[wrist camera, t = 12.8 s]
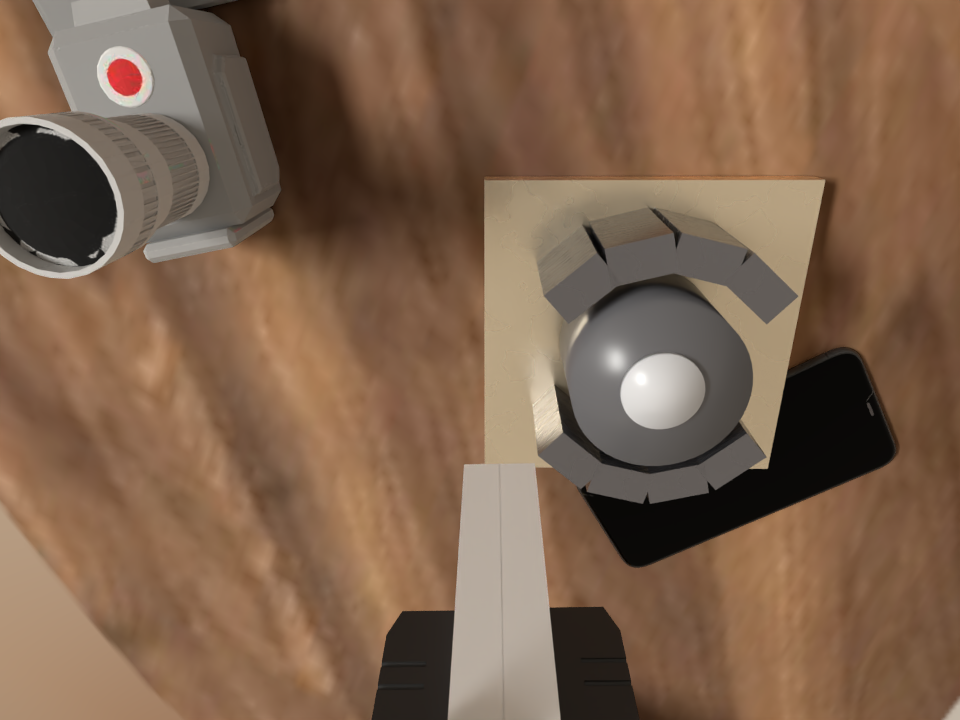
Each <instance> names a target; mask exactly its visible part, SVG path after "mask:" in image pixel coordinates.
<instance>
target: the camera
mask: <svg viewBox="0 0 960 720" xmlns="http://www.w3.org/2000/svg"><path fill="white" fill-rule="evenodd" d="M232 1H236V0H33V2H34V4H35V6H36V8H37V9H38V11H39V13H40V15H41V17H42V18H43V20H44V22H45V24H46V26H47V28H48V29H49V31H50V33H51V35H52V37H53V39H52V42H51V45H50V47H49V50H48V55H49V57H50V59H51V62H52V64H53V67H54V69H55V72H56V74H57V76H58V79H59V81H60V84H61V86H62V89H63V91H64V94H65V96H66V98H67V101H68V103H69V106H70V108H71V111H72V112H61V113H52V114H40V115H31V116H21V117H11V118H6V119H3V120H0V254H1V255H2V256H3V257H5V258H6V259H8V260H9V261H11V262H12V263H14V264H15V265H17V266H18V267H20V268H23V269H25V270H27V271H30V272H32V273H35V274H37V275H41V276H46V277H50V278H66V279H70V278H74V277H78V276H83V275H87V274H89V273H91V272H93V271H95V270H97V269H99V268H101V267H103V266H105V265H107V264H109V263H111V262H113V261H116V260H117V259H119V258H121V257H123V256H126V255H127V254H129V253H131V252H133V251H135V250H136V249H138V248H140V247H142V246H143V245H144V244H145V243H149V244H147V245H146V247H145V249H144V251H143V252H144V254H145V257H146V259H148V260H150V261H151V262H153V263H156V262H161V261H166V260H171V259H176V258H181V257H186V256H191V255H196V254H201V253H206V252H211V251H216V250H221V249H226V248H231V247H234V246H236V245H237V244H239V243H240V242H242V241H243V240H245V239H246V238H247V237H249V236H250V235H252V234H253V233H255V232H256V231H258V230H259V229H261V228H262V227H264V226H265V225H267V224H268V223H270V222H271V221H272V219H273V217H274V213H273V210H272V209H271V208H269V207H271V206H273V205H274V203H275V201H276V199H277V197H278V195H279V194H280V192H281V187H280V183H279V165H278V162H277V158H276V155H275V152H274V149H273V145H272V142H271V139H270V135H269V132H268V129H267V126H266V122H265V119H264V116H263V113H262V109H261V106H260V103H259V100H258V96H257V93H256V90H255V87H254V83H253V80H252V77H251V74H250V70H249V67H248V64H247V61H246V59H245V58H244V57H240V54H239V51H238V48H237V44H236V41H235V38H234V35H233V32H232V28H231V25H229V24H228V23H226V22H225V21H223V20H222V19H220V18H219V17H217V16H216V15H214V14H213V13H209V12H204V11H199V10H198V9H203V8H207V7H211V6H215V5H220V4H224V3H228V2H232ZM150 242H151V243H150Z"/></svg>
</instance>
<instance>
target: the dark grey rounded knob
mask: <svg viewBox="0 0 960 720" xmlns="http://www.w3.org/2000/svg"><path fill="white" fill-rule="evenodd" d="M560 354H561V359H562V363H563V368H564V372H565V377H566V381H567V385H568V390H569V394H570V399H571V403H572V407H573V411H574V415H575V418H576V420H577V422H578V425H579V426H580V428H581V430H582V431H583V433H584V434H585V435H586V437H587V438H588V439H589V440H590V441H591V442H592V443H593V444H594V445H595V446H596V447H597V448H599V449H600V450H602V451H603V452H604V453H606V454H608V455H610V456H612V457H614V458H615V459H618V460H621V461H624V462H627V463H631V464H635V465H643V466H663V465H671V464H675V463H680V462H683V461H686V460H689V459H692V458H694V457H697V456H699V455H701V454H703V453H705V452H706V451H708V450H710V449H711V448H713V447H714V446H716V445H717V444H718V443H720V442H721V441H722V440H723V439H724V438H725V437H726V436H727V435H728V434H729V433H730V432H731V431H732V430H733V429H734V428H735V426H736V425H737V424H738V422H739V421H740V419H741V418H742V416H743V414H744V412H745V410H746V408H747V406H748V403H749V400H750V397H751V393H752V387H753V368H752V362H751V358H750V355H749V352H748V350H747V348H746V346H745V343H744V342H743V340H742V339H741V337H740V336H739V335H738V333H737V332H736V331H735V330H734V329H733V328H732V327H731V325H730V324H729V323H728V322H727V321H726V320H725V319H724V317H723V316H722V315H721V314H720V313H719V312H718V311H717V309H716V308H715V307H714V306H713V305H712V304H711V303H710V302H709V300H708V299H707V298H706V297H705V296H704V295H703V294H702V292H701V291H700V290H699V289H698V288H697V287H696V286H695V285H694V284H693V283H691V282H690V281H689V280H688V279H686V278H685V277H683V276H681V275H678V274H674V273H673V274H668V275H664V276H660V277H655V278H651V279H646V280H642V281H637V282H633V283H629V284H624V285H620V286H617V287H615V288H614V289H613V290H612V291H610V292H609V293H608V294H606V295H605V296H604V297H603V298H601V299H600V300H599V301H597V302H596V303H595V304H594V305H592V306H591V307H590V308H588V309H587V310H586V311H585V312H583V313H582V314H581V315H580V316H578V317H577V318H576V319H574V320H573V321H572V322H571V323H569V324H568V323H567V322H566V321H565V319H564V321H563V324H562V328H561V333H560Z"/></svg>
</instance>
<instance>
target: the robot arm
mask: <svg viewBox="0 0 960 720" xmlns="http://www.w3.org/2000/svg"><path fill="white" fill-rule="evenodd" d="M372 720H639V715H638V711H637V706H636V702H635V697H634V692H633V688H632V686H631V678H630V674H629V669H628V665H627V663H626V655H625V651H624V646H623V641H622V637H621V632H620V630H619V628H618V627H617V625H616V624H615V623H614V621H613V620H612V619H611V617H610V616H609V614H608V613H607V612H606V610H605V609H604V608H603V607H564V608H549V599H548V589H547V579H546V570H545V560H544V550H543V540H542V530H541V520H540V510H539V500H538V490H537V480H536V470H535V463H516V464H464V476H463V491H462V507H461V522H460V538H459V553H458V569H457V584H456V599H455V611H402V613H401V614H400V616H399V617H398V619H397V620H396V622H395V623H394V625H393V626H392V628H391V629H390V631H389V632H388V634H387V636H386V641H385V647H384V653H383V658H382V667H381V670H380V675H379V681H378V690H377V693H376V698H375V704H374V710H373V715H372Z"/></svg>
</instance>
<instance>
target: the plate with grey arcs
mask: <svg viewBox="0 0 960 720" xmlns="http://www.w3.org/2000/svg"><path fill="white" fill-rule="evenodd" d="M824 185H825V180H824V179H822V178H819V177H816V176H485V179H484V266H485V464H516V463H535V467H553V468H554V469H556V470H557V471H558V472H559V473H561V474H562V475H563V476H565V477H566V478H567V479H569V480H570V481H571V482H572V483H574V484H575V485H576V486H578V487H579V488H580V489H581V488H583V487H584V486H585V485H586V489H587V492H590V493H595V494H599V495H604V496H609V497H613V498H618V499H623V500H627V501H632V502H637V503H641V504H643V502H644V500H645V498H646V495H647V497H648V500H649V502H650V504H652V503H657V502H663V501H668V500H673V499H679V498H684V497H689V496H695V495H700V494H705V493H709V491H708V483H707V481H708V482H709V483H710V484H711V485H712V487H713V488H714V489H715V490H717V489H718V488H720V487H721V486H723V485H724V484H726V483H727V482H729V481H731V480H732V479H734V478H735V477H737V476H738V475H740V474H741V473H743V472H745V471H746V470H748V469H768V465H769V460H770V455H771V450H772V445H773V440H774V435H775V430H776V425H777V420H778V415H779V410H780V405H781V400H782V395H783V390H784V385H785V380H786V375H787V370H788V365H789V360H790V355H791V350H792V345H793V340H794V335H795V330H796V325H797V320H798V315H799V310H800V305H801V300H802V295H803V290H804V285H805V280H806V275H807V270H808V265H809V260H810V255H811V250H812V245H813V240H814V235H815V230H816V225H817V220H818V215H819V210H820V205H821V200H822V195H823V190H824ZM673 273H674V274H678V275H681V276H683V277H685V278H686V279H688V280H689V281H690V282H691V283H693V284H694V285H695V286H696V287H697V288H698V289H699V290H700V291H701V292H702V294H703V295H704V296H705V297H706V298H707V299H708V300H709V302H710V303H711V304H712V305H713V306H714V307H715V308H716V309H717V311H718V312H719V313H720V314H721V315H722V316H723V317H724V319H725V320H726V321H727V322H728V323H729V324H730V325H731V327H732V328H733V329H734V330H735V331H736V332H737V333H738V335H739V336H740V337H741V339H742V340H743V342H744V343H745V346H746V348H747V350H748V352H749V355H750V358H751V362H752V368H753V387H752V393H751V397H750V400H749V403H748V406H747V408H746V410H745V412H744V414H743V416H742V418H741V419H740V421H739V422H738V424H737V425H736V426H735V428H734V429H733V430H732V431H731V432H730V433H729V434H728V435H727V436H726V437H725V438H724V439H723V440H722V441H721V442H720V443H718V444H717V445H716V446H714V447H713V448H711V449H710V450H708V451H706V452H705V453H703V454H701V455H699V456H697V457H694V458H692V459H689V460H686V461H683V462H680V463H675V464H671V465H663V466H643V465H635V464H631V463H627V462H624V461H621V460H618V459H615V458H614V457H612V456H610V455H608V454H606V453H604V452H603V451H602V450H600V449H599V448H597V447H596V446H595V445H594V444H593V443H592V442H591V441H590V440H589V439H588V438H587V437H586V435H585V434H584V433H583V431H582V430H581V428H580V426H579V425H578V422H577V420H576V418H575V415H574V411H573V407H572V403H571V399H570V394H569V390H568V385H567V381H566V377H565V372H564V368H563V363H562V359H561V354H560V333H561V328H562V324H563V321H564V319H565V321H566V322H567V323H568V324H569V323H571V322H572V321H573V320H574V319H576V318H577V317H578V316H580V315H581V314H582V313H583V312H585V311H586V310H587V309H588V308H590V307H591V306H592V305H594V304H595V303H596V302H597V301H599V300H600V299H601V298H603V297H604V296H605V295H606V294H608V293H609V292H610V291H612V290H613V289H614V288H615V287H617V286H620V285H624V284H629V283H633V282H637V281H642V280H646V279H651V278H655V277H660V276H664V275H668V274H673Z"/></svg>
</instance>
